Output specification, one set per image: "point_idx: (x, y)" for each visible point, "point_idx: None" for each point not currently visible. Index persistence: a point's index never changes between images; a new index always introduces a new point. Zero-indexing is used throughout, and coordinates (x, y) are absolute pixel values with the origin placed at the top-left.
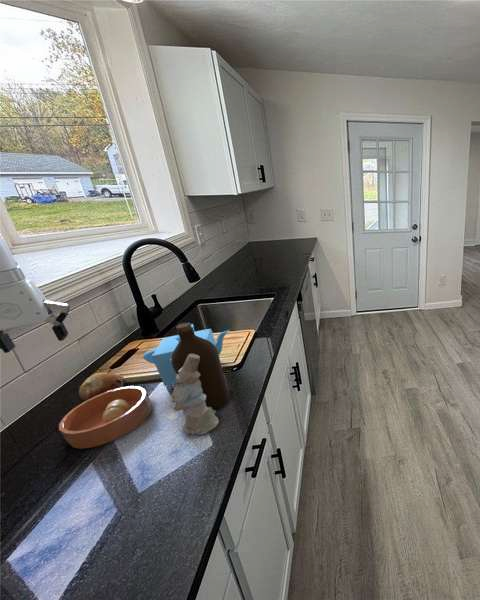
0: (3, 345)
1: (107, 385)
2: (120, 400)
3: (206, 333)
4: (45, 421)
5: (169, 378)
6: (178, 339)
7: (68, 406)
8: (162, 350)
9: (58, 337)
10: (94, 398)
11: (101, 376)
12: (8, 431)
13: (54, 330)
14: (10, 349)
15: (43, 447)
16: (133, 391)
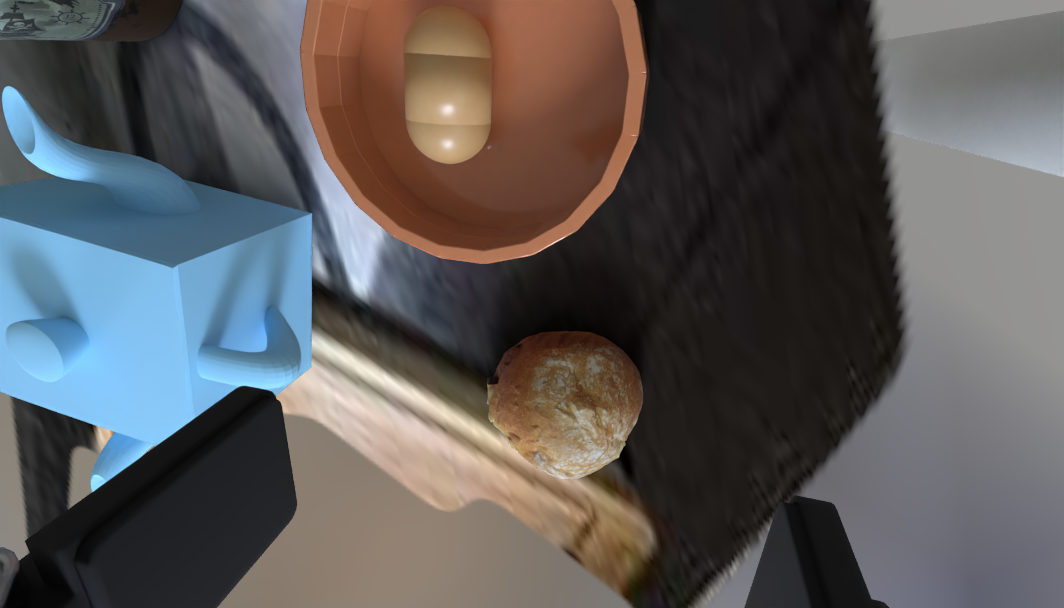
0: (826, 600)
1: (522, 360)
2: (413, 127)
3: None
4: (764, 310)
5: (263, 213)
6: (44, 326)
7: (692, 370)
8: (139, 296)
9: (228, 415)
10: (533, 236)
11: (531, 419)
12: (900, 337)
13: (121, 495)
14: (770, 543)
15: (742, 75)
16: (395, 209)
